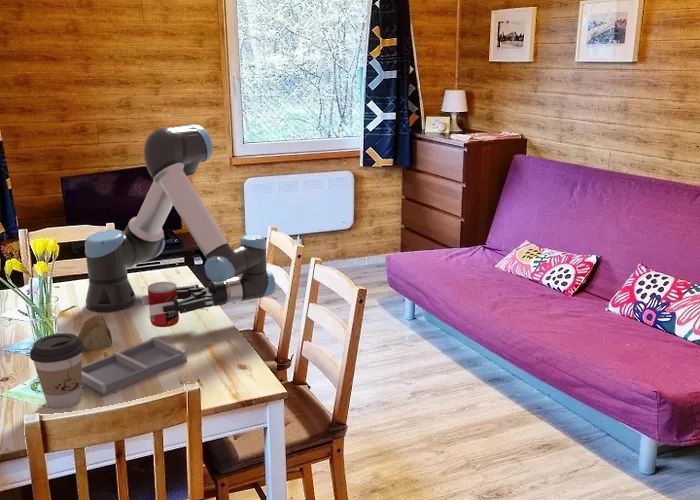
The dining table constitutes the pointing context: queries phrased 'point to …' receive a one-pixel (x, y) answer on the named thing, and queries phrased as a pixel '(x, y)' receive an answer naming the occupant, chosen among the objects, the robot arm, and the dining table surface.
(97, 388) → the tray
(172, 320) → the canned food
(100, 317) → the rock
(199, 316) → the dining table surface
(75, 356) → the coffee cup
